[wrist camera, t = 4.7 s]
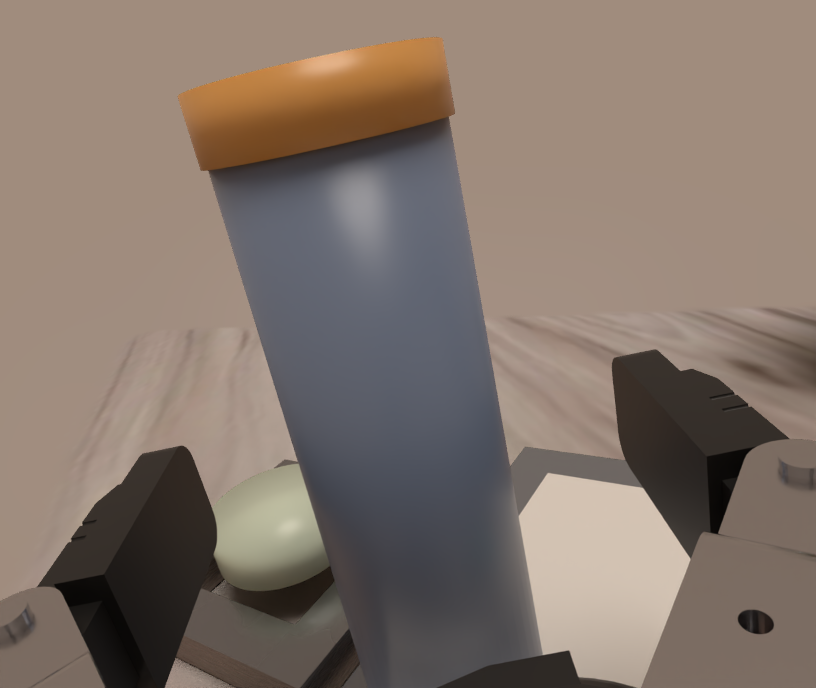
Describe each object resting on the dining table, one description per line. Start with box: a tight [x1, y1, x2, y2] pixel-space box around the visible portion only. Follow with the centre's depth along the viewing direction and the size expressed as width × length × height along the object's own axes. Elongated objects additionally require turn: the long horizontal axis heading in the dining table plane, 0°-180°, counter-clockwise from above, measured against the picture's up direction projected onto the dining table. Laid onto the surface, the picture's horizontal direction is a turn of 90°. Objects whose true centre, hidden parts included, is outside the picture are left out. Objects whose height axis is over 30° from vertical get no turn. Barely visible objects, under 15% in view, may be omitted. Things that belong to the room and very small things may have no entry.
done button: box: [212, 464, 330, 591], centre depth 20 cm, size 4×4×1 cm
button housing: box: [176, 460, 360, 688], centre depth 21 cm, size 8×8×1 cm
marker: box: [178, 37, 543, 688], centre depth 12 cm, size 4×4×13 cm
